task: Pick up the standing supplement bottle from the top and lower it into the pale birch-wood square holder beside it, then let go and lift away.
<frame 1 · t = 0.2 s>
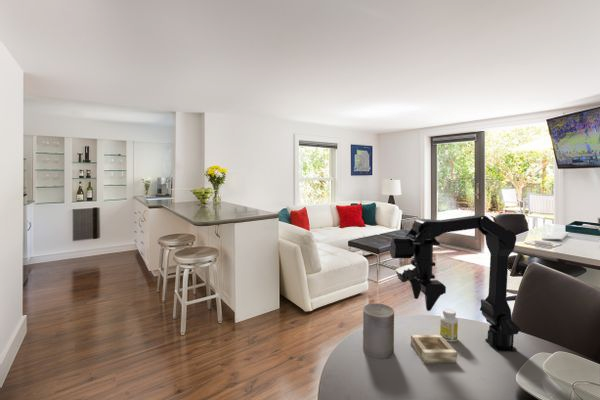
hand: (422, 304, 97), 14 cm above the table, tool pointing down, fingers open, 9 cm apart
pillar candle: (377, 350, 95), on the table
supplement bottle: (448, 338, 102), on the table
square holder: (432, 353, 93), on the table
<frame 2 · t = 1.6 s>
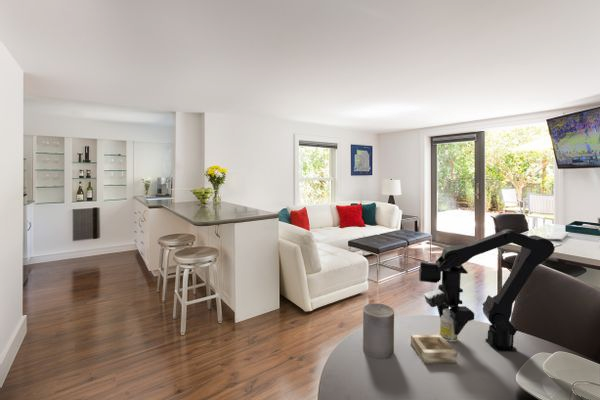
hand: (449, 327, 102), 4 cm above the table, tool pointing down, fingers open, 9 cm apart
nothing on the table moved.
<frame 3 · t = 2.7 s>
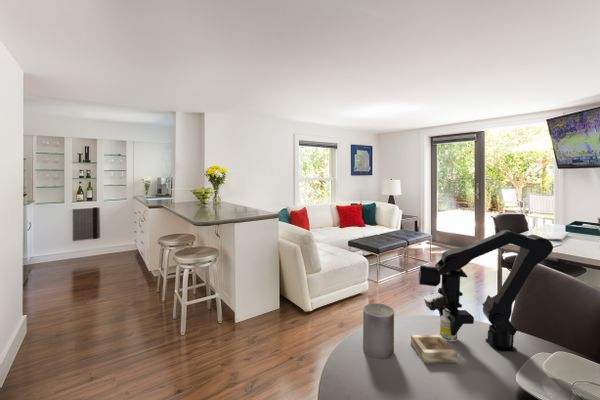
hand: (448, 331, 102), 3 cm above the table, tool pointing down, fingers closed on supplement bottle, 5 cm apart
supplement bottle: (448, 338, 102), on the table, touching gripper
everything else where it was.
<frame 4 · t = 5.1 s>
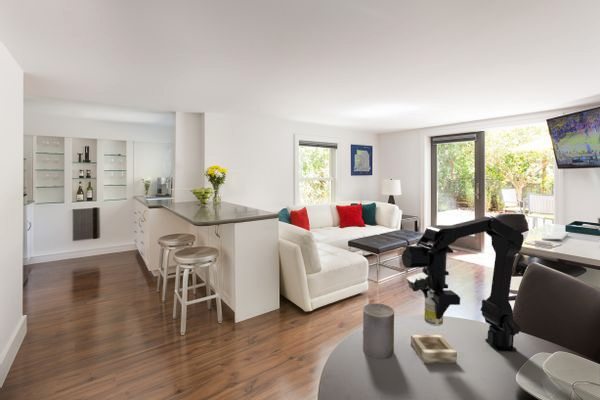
hand: (433, 314, 93), 13 cm above the table, tool pointing down, fingers closed on supplement bottle, 5 cm apart
supplement bottle: (433, 322, 93), point 10 cm above the table, touching gripper
everything else where it was.
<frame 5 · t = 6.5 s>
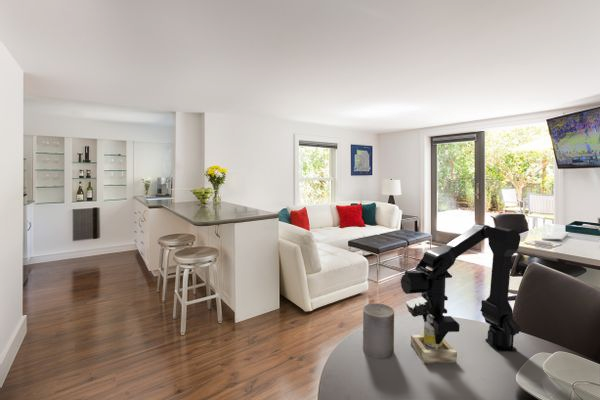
hand: (433, 338, 93), 5 cm above the table, tool pointing down, fingers closed on supplement bottle, 5 cm apart
supplement bottle: (432, 347, 93), point 2 cm above the table, touching gripper
everything else where it was.
when the fingers open (4 cm above the table, at t = 7.5 s): supplement bottle drops 1 cm, resting on square holder.
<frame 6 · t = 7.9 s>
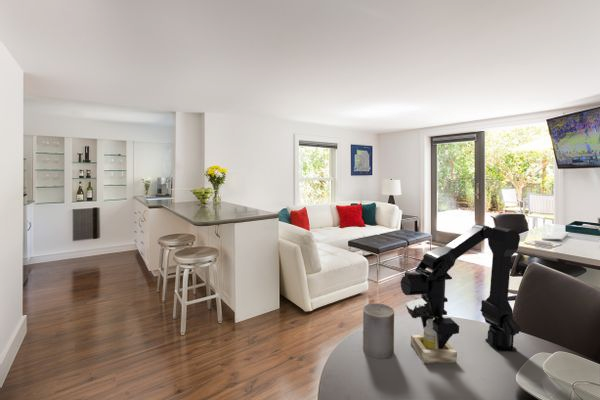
hand: (432, 340, 93), 4 cm above the table, tool pointing down, fingers open, 9 cm apart
supplement bottle: (432, 352, 93), resting on square holder
everything else where it was.
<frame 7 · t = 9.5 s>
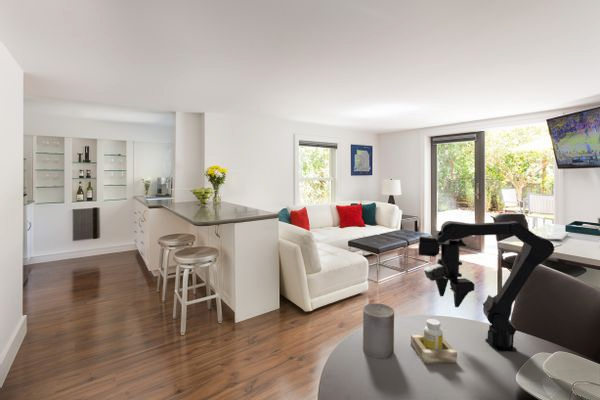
hand: (448, 301, 103), 13 cm above the table, tool pointing down, fingers open, 9 cm apart
nothing on the table moved.
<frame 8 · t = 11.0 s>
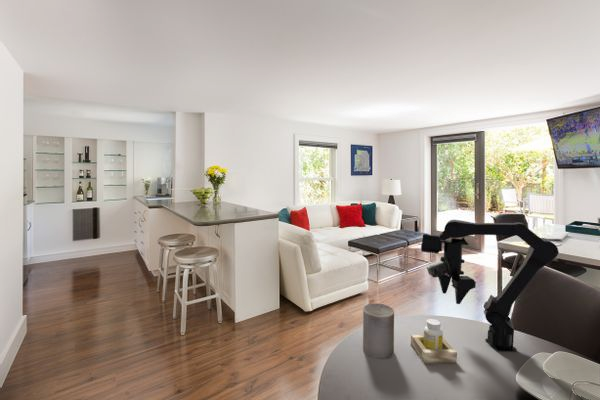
hand: (450, 298, 105), 13 cm above the table, tool pointing down, fingers open, 9 cm apart
nothing on the table moved.
at the end: supplement bottle 0.1 cm off-centre on the square holder, point 0.4 cm above the square holder's base; supplement bottle tilted 0°; the gripper is holding nothing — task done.
